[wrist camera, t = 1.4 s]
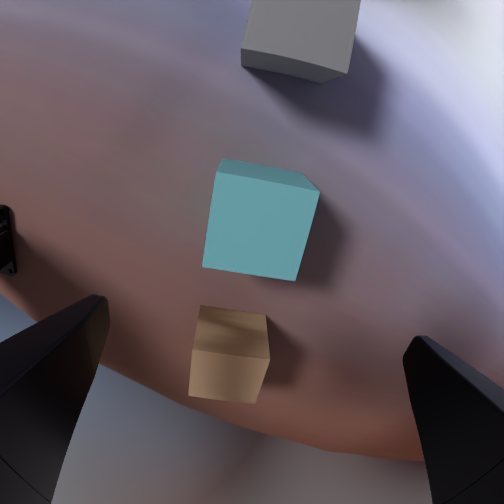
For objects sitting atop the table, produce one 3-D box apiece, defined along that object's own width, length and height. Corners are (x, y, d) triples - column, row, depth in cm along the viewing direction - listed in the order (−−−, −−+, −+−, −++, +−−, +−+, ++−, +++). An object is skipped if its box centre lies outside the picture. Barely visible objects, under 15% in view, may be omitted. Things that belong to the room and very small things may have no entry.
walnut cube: (195, 350, 25) (188, 395, 20) (200, 304, 23) (192, 349, 18) (252, 358, 25) (255, 403, 21) (265, 314, 23) (270, 359, 19)
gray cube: (241, 66, 16) (240, 48, 11) (257, -2, 14) (261, -36, 9) (321, 83, 16) (347, 73, 12) (334, 17, 14) (362, -9, 10)
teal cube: (210, 231, 20) (202, 266, 16) (223, 158, 18) (216, 171, 14) (283, 243, 21) (295, 281, 16) (301, 172, 19) (320, 191, 14)
